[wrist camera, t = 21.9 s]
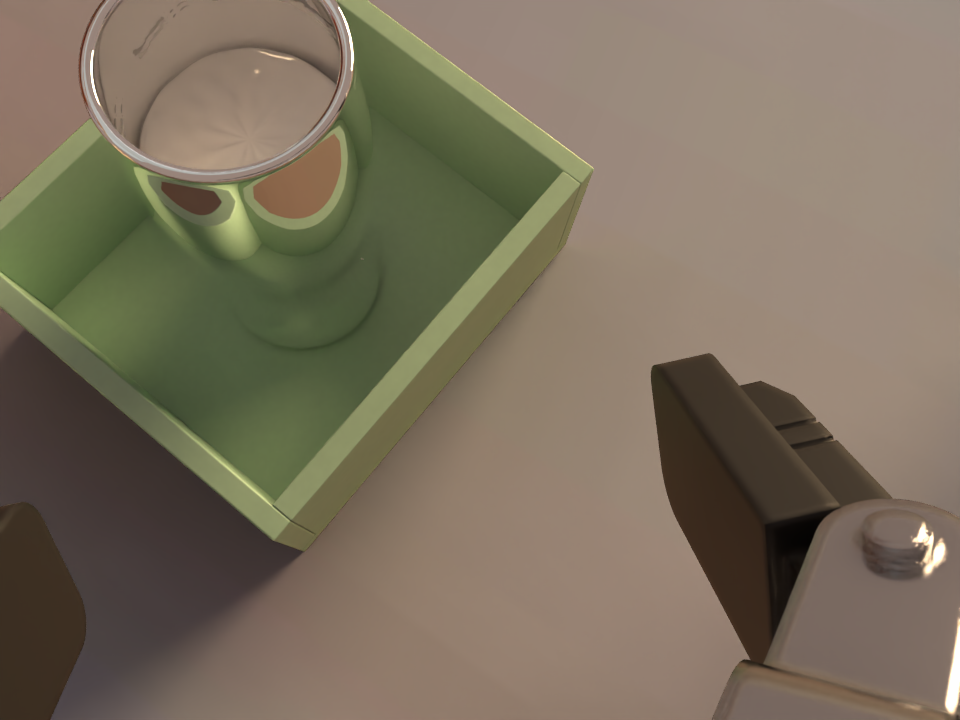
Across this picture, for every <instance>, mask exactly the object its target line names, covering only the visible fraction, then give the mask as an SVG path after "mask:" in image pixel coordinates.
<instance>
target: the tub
mask: <svg viewBox="0 0 960 720" xmlns="http://www.w3.org/2000/svg"><path fill="white" fill-rule="evenodd" d="M336 2H337V3H338V5H339V7H340V8H341V10H342V12H343V14H344V16H345V18H346V21H347V23H348V26H349V29H350V32H351V36H352V41H353V47H354V54H355V57H356V60H357V64H358V67H359V70H360V74H361V78H362V82H363V85H364V89H365V93H366V97H367V101H368V106H369V112H370V117H371V123H372V129H373V137H374V154H375V175H374V184H373V192H372V200H371V205H370V209H369V213H368V218H367V222H366V226H365V230H364V232H365V233H366V235H367V236H368V238H369V240H370V242H371V244H372V246H373V248H374V251H375V253H376V256H377V260H378V265H379V286H378V291H377V295H376V298H375V301H374V303H373V305H372V307H371V309H370V311H369V312H368V314H367V315H366V317H365V318H364V319H363V321H362V322H361V323H360V324H359V325H358V326H357V327H356V328H355V329H354V330H353V331H351V332H350V333H349V334H347V335H346V336H344V337H343V338H341V339H339V340H337V341H335V342H333V343H330V344H327V345H324V346H320V347H315V348H307V349H295V348H287V347H283V346H279V345H276V344H273V343H270V342H268V341H266V340H264V339H262V338H260V337H259V336H257V335H256V334H254V333H253V332H252V331H251V330H250V329H248V328H247V327H246V326H245V325H244V323H243V322H242V321H241V320H240V318H239V317H238V315H237V314H236V312H235V310H234V308H233V306H232V303H231V300H230V297H229V294H228V289H227V282H226V281H224V280H222V279H221V278H219V277H218V276H216V275H215V274H213V273H212V272H210V271H209V270H207V269H206V268H204V267H203V266H201V265H200V264H199V263H197V262H196V261H195V260H194V259H192V258H191V257H190V256H189V255H188V254H186V253H185V252H184V251H183V250H182V249H180V248H179V247H178V246H177V245H176V244H175V243H174V242H172V241H171V240H170V239H169V237H168V236H167V235H166V234H165V233H164V232H163V231H162V229H161V228H160V227H159V226H158V225H157V223H156V222H155V221H154V220H153V219H152V217H151V216H150V215H149V214H148V212H147V211H146V210H145V208H144V207H143V205H142V204H141V202H140V201H139V199H138V198H137V196H136V195H135V193H134V192H133V190H132V188H131V187H130V185H129V184H128V182H127V181H126V179H125V177H124V175H123V174H122V172H121V170H120V168H119V166H118V164H117V163H116V161H115V159H114V157H113V155H112V153H111V151H110V149H109V147H108V145H107V143H106V141H105V139H104V137H103V135H102V134H101V133H100V131H99V130H98V129H97V127H96V126H95V124H94V123H93V121H92V119H91V118H90V119H88V120H87V121H86V122H85V123H84V124H83V125H82V126H81V127H80V128H79V129H78V130H77V131H76V132H74V133H73V134H72V135H71V136H70V137H69V138H68V139H67V140H66V141H65V142H64V143H63V144H62V145H60V146H59V147H58V148H57V149H56V150H55V151H54V152H53V153H52V154H51V155H50V156H49V157H47V158H46V159H45V160H44V161H43V162H42V163H41V164H40V165H39V166H38V167H37V168H36V169H35V170H33V171H32V172H31V173H30V174H29V175H28V176H27V177H26V178H25V179H24V180H23V181H22V182H21V183H19V184H18V185H17V186H16V187H15V188H14V189H13V190H12V191H11V192H10V193H9V194H8V195H6V196H5V197H4V198H3V199H2V200H1V201H0V308H2V309H3V310H4V311H5V312H6V313H7V314H9V315H10V316H11V317H12V318H13V319H14V320H16V321H17V322H18V323H19V324H20V325H21V326H23V327H24V328H25V329H26V330H27V331H28V332H30V333H31V334H32V335H33V336H34V337H35V338H37V339H38V340H39V341H40V342H41V343H42V344H44V345H45V346H46V347H47V348H48V349H49V350H51V351H52V352H53V353H54V354H55V355H56V356H58V357H59V358H60V359H61V360H62V361H64V362H65V363H66V364H67V365H68V366H69V367H71V368H72V369H73V370H74V371H75V372H76V373H78V374H79V375H80V376H81V377H82V378H83V379H85V380H86V381H87V382H88V383H89V384H90V385H92V386H93V387H94V388H95V389H96V390H97V391H99V392H100V393H101V394H102V395H103V396H104V397H106V398H107V399H108V400H109V401H110V402H111V403H113V404H114V405H115V406H116V407H117V408H118V409H120V410H121V411H122V412H123V413H124V414H125V415H127V416H128V417H129V418H130V419H131V420H132V421H134V422H135V423H136V424H137V425H138V426H139V427H141V428H142V429H143V430H144V431H145V432H146V433H148V434H149V435H150V436H151V437H152V438H153V439H155V440H156V441H157V442H158V443H159V444H160V445H162V446H163V447H164V448H165V449H166V450H167V451H169V452H170V453H171V454H172V455H173V456H174V457H176V458H177V459H178V460H179V461H180V462H181V463H183V464H184V465H185V466H186V467H187V468H188V469H190V470H191V471H192V472H193V473H194V474H195V475H197V476H198V477H199V478H200V479H201V480H202V481H204V482H205V483H206V484H207V485H208V486H209V487H211V488H212V489H213V490H214V491H215V492H216V493H218V494H219V495H220V496H221V497H222V498H223V499H225V500H226V501H227V502H228V503H229V504H230V505H232V506H233V507H234V508H235V509H236V510H237V511H239V512H240V513H241V514H242V515H243V516H244V517H246V518H247V519H248V520H249V521H250V522H251V523H253V524H254V525H255V526H256V527H257V528H258V529H260V530H261V531H262V532H263V533H264V534H265V535H267V536H268V537H269V538H270V539H271V540H273V541H276V542H278V543H281V544H284V545H287V546H290V547H292V548H295V549H298V550H300V551H303V552H305V551H306V550H307V548H308V547H309V546H310V545H311V544H312V543H313V541H314V540H315V539H316V538H317V537H318V535H319V534H320V533H321V532H322V531H323V530H324V528H325V527H326V526H327V525H328V524H329V523H330V521H331V520H332V519H333V518H334V517H335V515H336V514H337V513H338V512H339V511H340V510H341V508H342V507H343V506H344V505H345V504H346V502H347V501H348V500H349V499H350V498H351V497H352V495H353V494H354V493H355V492H356V491H357V489H358V488H359V487H360V486H361V485H362V484H363V482H364V481H365V480H366V479H367V478H368V476H369V475H370V474H371V473H372V472H373V471H374V469H375V468H376V467H377V466H378V465H379V463H380V462H381V461H382V460H383V459H384V458H385V456H386V455H387V454H388V453H389V452H390V450H391V449H392V448H393V447H394V446H395V445H396V443H397V442H398V441H399V440H400V439H401V438H402V436H403V435H404V434H405V433H406V432H407V430H408V429H409V428H410V427H411V426H412V425H413V423H414V422H415V421H416V420H417V419H418V417H419V416H420V415H421V414H422V413H423V412H424V410H425V409H426V408H427V407H428V406H429V404H430V403H431V402H432V401H433V400H434V399H435V397H436V396H437V395H438V394H439V393H440V391H441V390H442V389H443V388H444V387H445V386H446V384H447V383H448V382H449V381H450V380H451V378H452V377H453V376H454V375H455V374H456V373H457V371H458V370H459V369H460V368H461V367H462V365H463V364H464V363H465V362H466V361H467V360H468V358H469V357H470V356H471V355H472V354H473V352H474V351H475V350H476V349H477V348H478V347H479V345H480V344H481V343H482V342H483V341H484V340H485V338H486V337H487V336H488V335H489V334H490V332H491V331H492V330H493V329H494V328H495V327H496V325H497V324H498V323H499V322H500V321H501V319H502V318H503V317H504V316H505V315H506V314H507V312H508V311H509V310H510V309H511V308H512V306H513V305H514V304H515V303H516V302H517V301H518V299H519V298H520V297H521V296H522V295H523V293H524V292H525V291H526V290H527V289H528V288H529V286H530V285H531V284H532V283H533V282H534V280H535V279H536V278H537V277H538V276H539V275H540V273H541V272H542V271H543V270H544V269H545V267H546V266H547V265H548V264H549V263H550V262H551V260H552V259H553V258H554V257H555V256H556V254H557V253H558V252H559V251H560V250H561V249H562V247H563V246H564V245H565V244H566V241H567V239H568V236H569V233H570V231H571V228H572V225H573V223H574V220H575V217H576V215H577V212H578V209H579V207H580V204H581V202H582V199H583V196H584V194H585V191H586V188H587V186H588V183H589V181H590V178H591V175H592V173H593V170H594V168H593V167H591V166H590V165H589V164H587V163H586V162H585V161H583V160H582V159H581V158H579V157H578V156H577V155H575V154H574V153H572V152H571V151H570V150H568V149H567V148H566V147H564V146H563V145H562V144H560V143H559V142H558V141H556V140H555V139H554V138H552V137H551V136H550V135H548V134H547V133H546V132H544V131H543V130H541V129H540V128H539V127H537V126H536V125H535V124H533V123H532V122H531V121H529V120H528V119H527V118H525V117H524V116H523V115H521V114H520V113H519V112H517V111H516V110H514V109H513V108H512V107H510V106H509V105H508V104H506V103H505V102H504V101H502V100H501V99H500V98H498V97H497V96H496V95H494V94H493V93H492V92H490V91H489V90H488V89H486V88H485V87H483V86H482V85H481V84H479V83H478V82H477V81H475V80H474V79H473V78H471V77H470V76H469V75H467V74H466V73H465V72H463V71H462V70H461V69H459V68H458V67H457V66H455V65H454V64H452V63H451V62H450V61H448V60H447V59H446V58H444V57H443V56H442V55H440V54H439V53H438V52H436V51H435V50H434V49H432V48H431V47H430V46H428V45H427V44H425V43H424V42H423V41H421V40H420V39H419V38H417V37H416V36H415V35H413V34H412V33H411V32H409V31H408V30H407V29H405V28H404V27H403V26H401V25H400V24H399V23H397V22H396V21H394V20H393V19H392V18H390V17H389V16H388V15H386V14H385V13H384V12H382V11H381V10H380V9H378V8H377V7H376V6H374V5H373V4H372V3H370V2H369V1H367V0H336Z"/></svg>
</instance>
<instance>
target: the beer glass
mask: <svg viewBox="0 0 960 720" xmlns="http://www.w3.org/2000/svg"><path fill="white" fill-rule="evenodd" d="M78 74H79V84H80V89H81V94H82V97H83V101H84V104H85V106H86V109H87V111H88V113H89V115H90V117H91V119H92V121H93V123H94V124H95V126H96V127H97V129H98V130H99V131H100V133H101V134H102V135H103V137H104V139H105V141H106V143H107V145H108V147H109V149H110V151H111V153H112V155H113V157H114V159H115V161H116V163H117V164H118V166H119V168H120V170H121V172H122V174H123V175H124V177H125V179H126V181H127V182H128V184H129V185H130V187H131V188H132V190H133V192H134V193H135V195H136V196H137V198H138V199H139V201H140V202H141V204H142V205H143V207H144V208H145V210H146V211H147V212H148V214H149V215H150V216H151V217H152V219H153V220H154V221H155V222H156V223H157V225H158V226H159V227H160V228H161V229H162V231H163V232H164V233H165V234H166V235H167V236H168V237H169V239H170V240H171V241H172V242H174V243H175V244H176V245H177V246H178V247H179V248H180V249H182V250H183V251H184V252H185V253H186V254H188V255H189V256H190V257H191V258H192V259H194V260H195V261H196V262H197V263H199V264H200V265H201V266H203V267H204V268H206V269H207V270H209V271H210V272H212V273H213V274H215V275H216V276H218V277H219V278H221V279H222V280H224V281H226V282H227V289H228V294H229V297H230V300H231V303H232V306H233V308H234V310H235V312H236V314H237V315H238V317H239V318H240V320H241V321H242V322H243V323H244V325H245V326H246V327H247V328H248V329H250V330H251V331H252V332H253V333H254V334H256V335H257V336H259V337H260V338H262V339H264V340H266V341H268V342H270V343H273V344H276V345H279V346H283V347H287V348H295V349H307V348H315V347H320V346H324V345H327V344H330V343H333V342H335V341H337V340H339V339H341V338H343V337H344V336H346V335H347V334H349V333H350V332H351V331H353V330H354V329H355V328H356V327H357V326H358V325H359V324H360V323H361V322H362V321H363V319H364V318H365V317H366V315H367V314H368V312H369V311H370V309H371V307H372V305H373V303H374V301H375V298H376V295H377V291H378V286H379V265H378V260H377V256H376V253H375V251H374V248H373V246H372V244H371V242H370V240H369V238H368V236H367V235H366V233H365V232H364V230H365V226H366V222H367V218H368V213H369V209H370V205H371V200H372V192H373V184H374V175H375V154H374V137H373V129H372V123H371V117H370V112H369V106H368V101H367V97H366V93H365V89H364V85H363V82H362V78H361V74H360V70H359V67H358V64H357V60H356V57H355V54H354V47H353V41H352V36H351V32H350V29H349V26H348V23H347V21H346V18H345V16H344V14H343V12H342V10H341V8H340V7H339V5H338V3H337V2H336V0H103V1H102V2H101V3H100V5H99V6H98V8H97V9H96V11H95V12H94V14H93V16H92V18H91V19H90V21H89V24H88V26H87V28H86V31H85V33H84V36H83V40H82V43H81V47H80V53H79V64H78Z"/></svg>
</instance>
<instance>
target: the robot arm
mask: <svg viewBox="0 0 960 720" xmlns="http://www.w3.org/2000/svg"><path fill="white" fill-rule="evenodd" d="M651 384H652V393H653V401H654V409H655V417H656V425H657V433H658V441H659V450H660V458H661V466H662V473H663V478H664V483H665V487H666V491H667V495H668V498H669V501H670V505H671V507H672V510H673V513H674V515H675V517H676V519H677V521H678V523H679V525H680V527H681V529H682V531H683V532H684V534H685V536H686V538H687V540H688V542H689V544H690V546H691V548H692V550H693V551H694V553H695V555H696V557H697V559H698V561H699V563H700V565H701V567H702V568H703V570H704V572H705V574H706V576H707V578H708V580H709V582H710V584H711V586H712V587H713V589H714V591H715V593H716V595H717V597H718V599H719V601H720V603H721V604H722V606H723V608H724V610H725V612H726V614H727V616H728V618H729V620H730V622H731V623H732V625H733V627H734V629H735V631H736V633H737V635H738V637H739V639H740V641H741V642H742V644H743V646H744V648H745V650H746V652H747V654H748V656H749V658H750V659H751V660H742V661H741V662H739V664H738V665H737V666H736V667H735V669H734V671H733V672H732V674H731V676H730V678H729V680H728V682H727V685H726V687H725V689H724V692H723V694H722V696H721V699H720V701H719V703H718V706H717V708H716V710H715V713H714V715H713V717H712V720H960V518H958V517H957V516H955V515H953V514H951V513H949V512H947V511H945V510H942V509H940V508H938V507H935V506H931V505H928V504H925V503H921V502H915V501H910V500H902V499H893V498H892V497H891V496H890V495H889V494H888V493H887V492H886V491H885V490H884V489H883V488H882V487H881V486H880V484H879V483H878V482H877V481H876V480H875V479H874V478H873V477H872V476H871V475H870V474H869V473H868V472H867V471H866V470H865V469H864V468H863V467H862V466H861V465H860V464H859V463H858V461H857V460H856V459H855V458H854V457H853V456H852V455H851V454H850V453H849V452H848V451H847V450H846V449H845V448H844V447H843V446H842V445H841V444H840V443H839V442H838V441H837V440H836V441H834V439H833V435H832V434H831V433H830V432H829V431H828V430H827V429H826V428H825V427H824V426H823V425H822V424H821V423H820V422H816V418H815V417H814V416H813V414H812V413H811V412H810V411H809V410H808V409H807V408H806V407H805V406H804V405H803V404H802V403H801V402H800V401H799V400H798V399H797V398H796V397H795V396H794V395H791V394H789V393H787V392H785V391H782V390H780V389H778V388H775V387H773V386H771V385H769V384H766V383H764V382H762V381H759V382H754V383H750V384H745V385H741V386H739V385H738V384H737V383H736V381H735V380H734V379H733V378H732V377H731V376H730V374H729V373H728V372H727V371H726V370H725V368H724V367H723V366H722V365H721V364H720V363H719V361H718V360H717V359H716V358H715V357H714V356H713V355H712V354H710V353H708V354H704V355H699V356H694V357H690V358H685V359H681V360H676V361H672V362H667V363H662V364H658V365H654V366H653V367H652V370H651ZM85 635H86V615H85V609H84V604H83V601H82V598H81V596H80V594H79V591H78V589H77V587H76V585H75V583H74V581H73V579H72V577H71V575H70V573H69V571H68V569H67V567H66V565H65V563H64V561H63V559H62V557H61V555H60V553H59V551H58V549H57V547H56V544H55V542H54V540H53V538H52V536H51V534H50V532H49V530H48V528H47V526H46V524H45V522H44V520H43V518H42V516H41V515H40V513H39V512H38V510H37V509H36V508H35V507H34V506H32V505H31V504H29V503H26V502H20V503H15V504H11V505H6V506H2V507H0V720H50V719H51V716H52V714H53V712H54V710H55V708H56V705H57V703H58V701H59V699H60V696H61V694H62V692H63V690H64V688H65V685H66V683H67V681H68V679H69V676H70V674H71V672H72V670H73V667H74V665H75V663H76V661H77V659H78V656H79V654H80V652H81V650H82V647H83V644H84V641H85Z"/></svg>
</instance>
